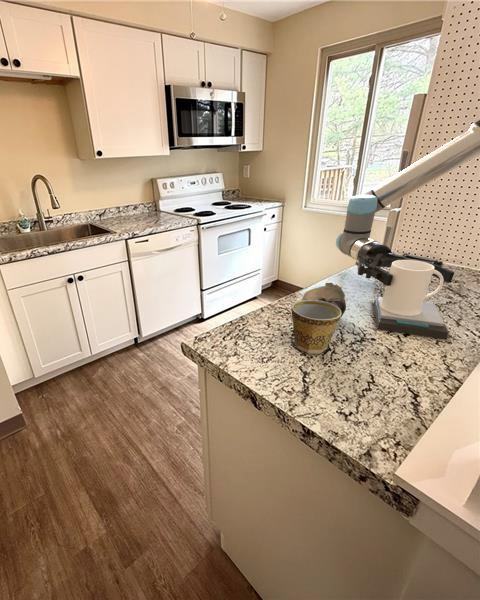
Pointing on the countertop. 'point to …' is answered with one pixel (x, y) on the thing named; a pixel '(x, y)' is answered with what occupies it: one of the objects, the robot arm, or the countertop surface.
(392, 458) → the countertop surface
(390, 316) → the scale
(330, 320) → the ceramic cup
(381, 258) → the robot arm
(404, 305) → the mug
